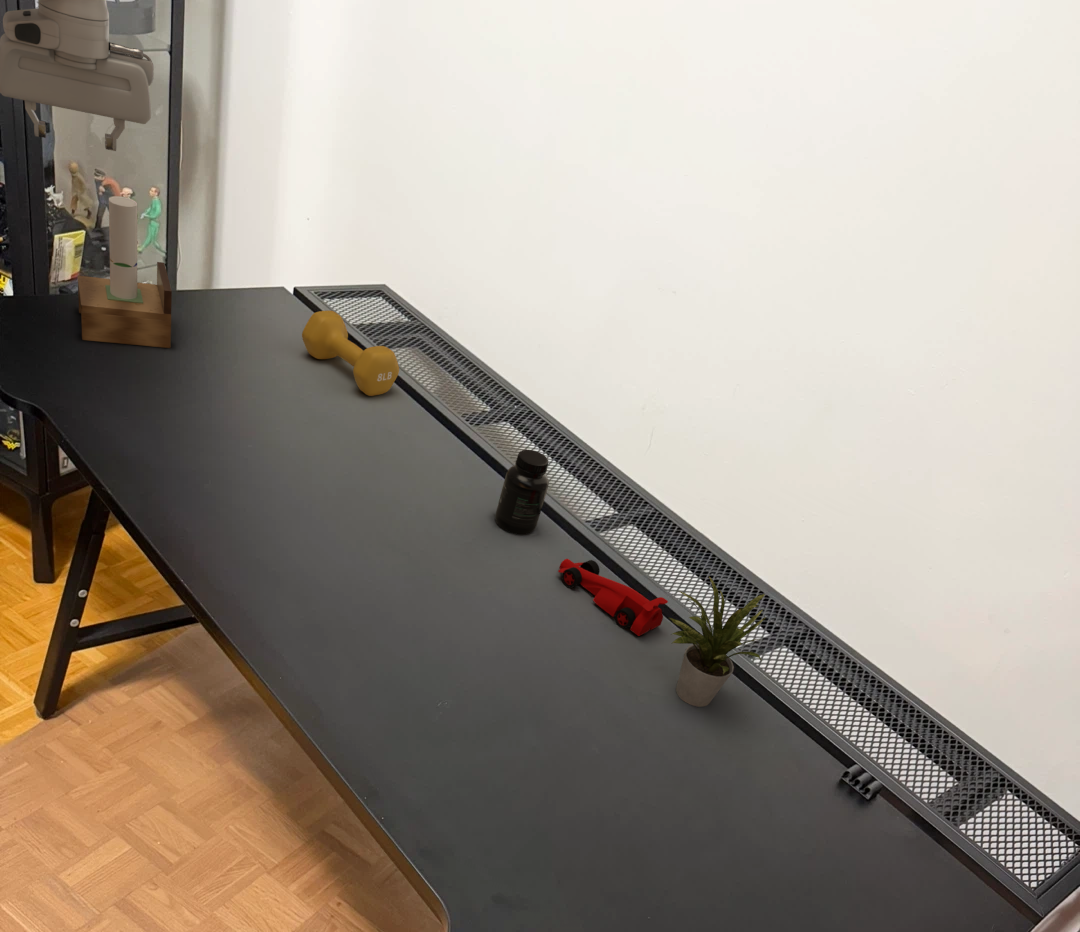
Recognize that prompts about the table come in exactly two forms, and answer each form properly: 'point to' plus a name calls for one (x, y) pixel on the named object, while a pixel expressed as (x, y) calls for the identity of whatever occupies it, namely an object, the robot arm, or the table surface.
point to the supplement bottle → (523, 493)
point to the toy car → (614, 597)
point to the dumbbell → (350, 352)
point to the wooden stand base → (126, 312)
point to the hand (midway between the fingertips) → (75, 142)
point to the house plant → (711, 650)
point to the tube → (123, 247)
